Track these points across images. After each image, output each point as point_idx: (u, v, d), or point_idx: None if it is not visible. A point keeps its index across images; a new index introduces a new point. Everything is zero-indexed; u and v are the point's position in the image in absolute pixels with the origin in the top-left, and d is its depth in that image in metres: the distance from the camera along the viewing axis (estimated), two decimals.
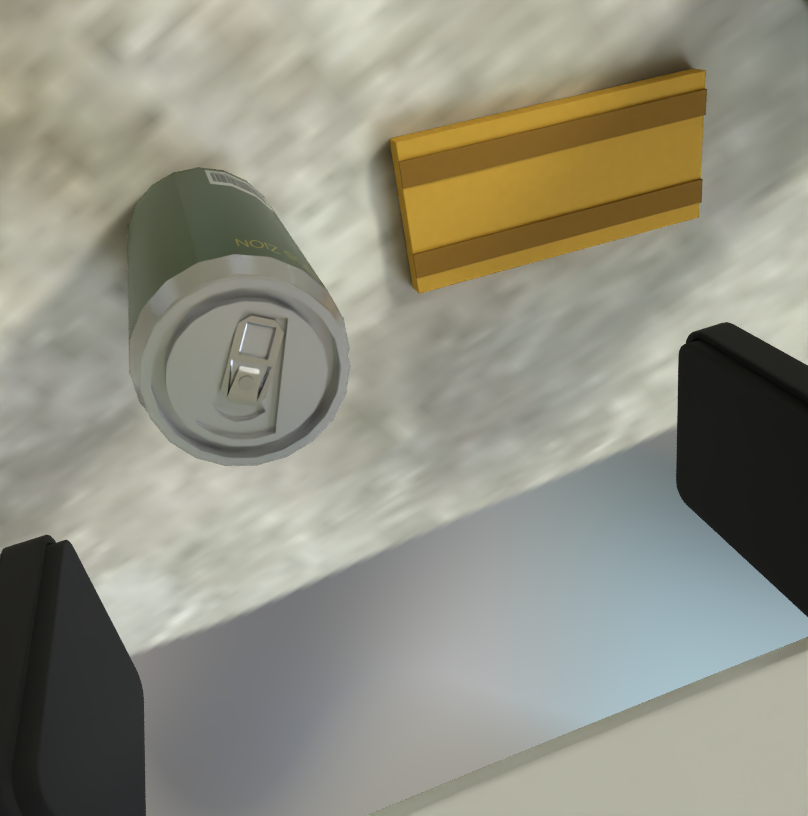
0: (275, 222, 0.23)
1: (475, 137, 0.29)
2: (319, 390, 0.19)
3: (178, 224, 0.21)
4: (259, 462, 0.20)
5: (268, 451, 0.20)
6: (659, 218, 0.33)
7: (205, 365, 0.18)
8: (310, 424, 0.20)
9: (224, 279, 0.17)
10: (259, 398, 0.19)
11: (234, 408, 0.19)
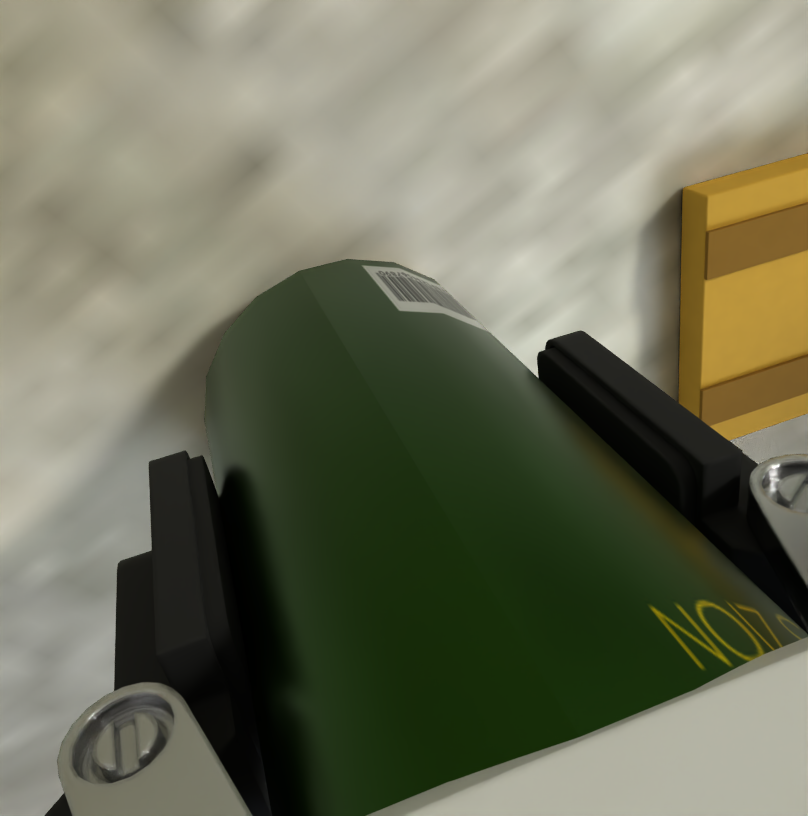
0: (582, 420, 0.10)
1: None
2: None
3: (395, 479, 0.08)
4: None
5: None
6: None
7: None
8: None
9: None
10: None
11: None
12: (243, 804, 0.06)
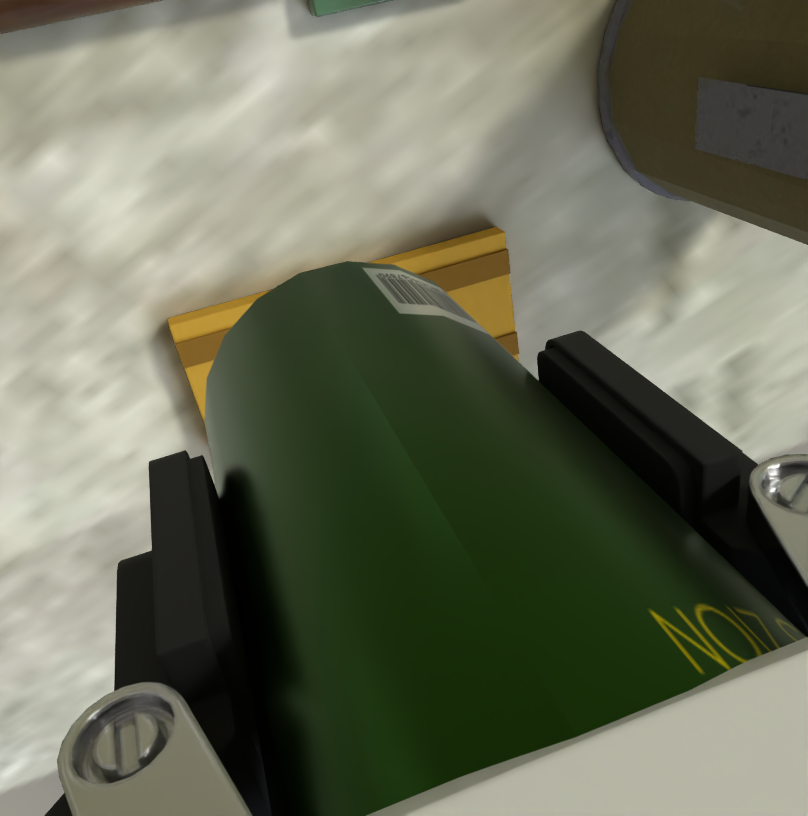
0: (582, 423, 0.10)
1: None
2: None
3: (395, 482, 0.08)
4: None
5: None
6: None
7: None
8: None
9: None
10: None
11: None
12: (243, 804, 0.06)
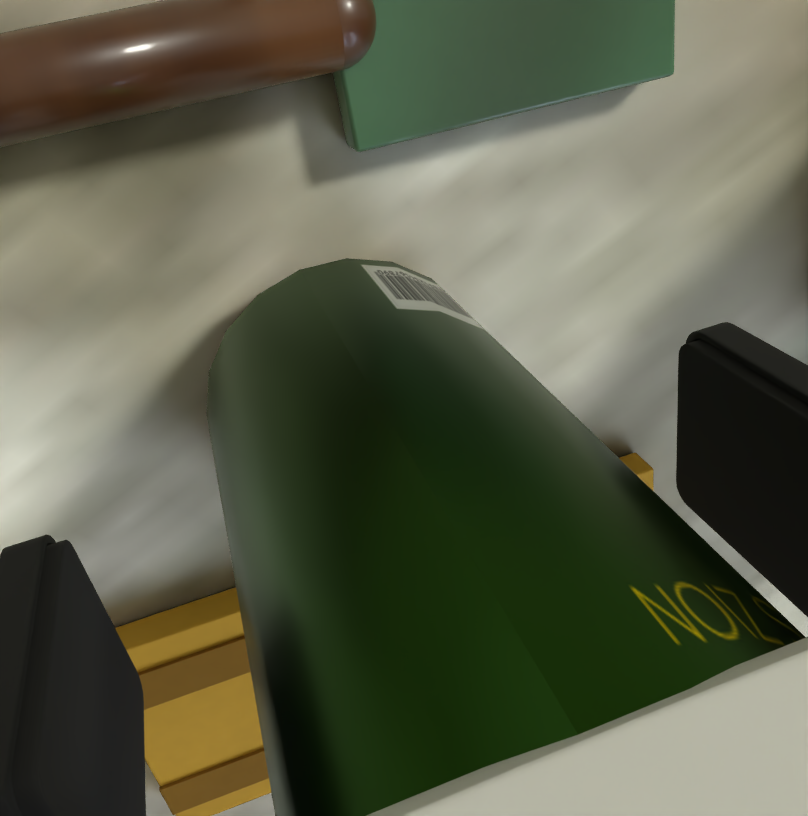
0: None
1: None
2: None
3: (390, 468, 0.08)
4: None
5: None
6: None
7: None
8: None
9: None
10: None
11: None
12: None
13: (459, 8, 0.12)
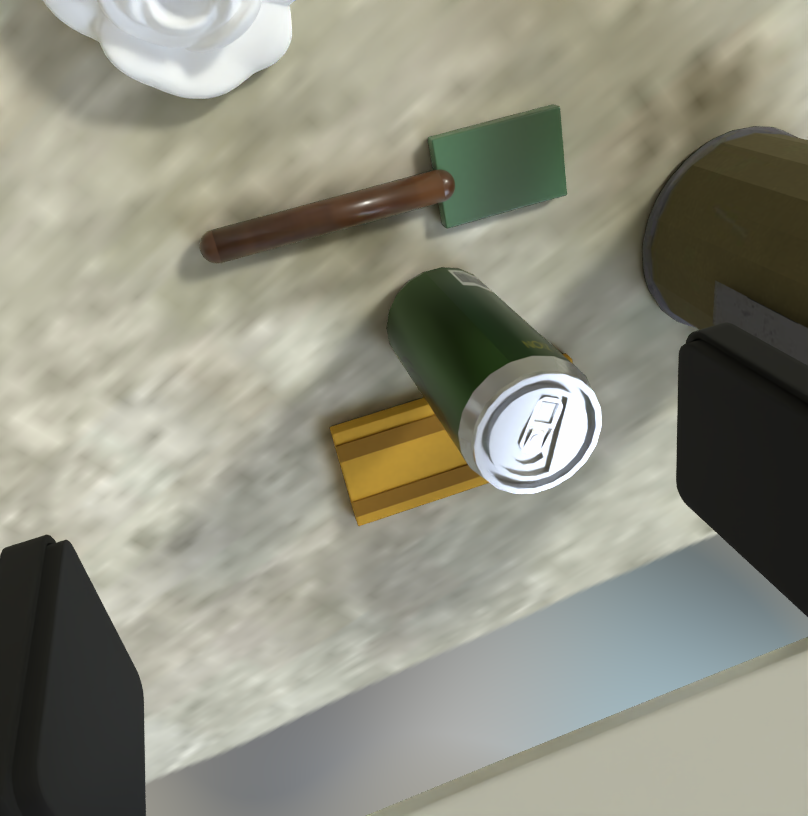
0: None
1: (393, 424, 0.39)
2: (580, 442, 0.28)
3: (466, 325, 0.30)
4: (535, 491, 0.29)
5: (541, 483, 0.29)
6: None
7: (514, 428, 0.27)
8: (568, 464, 0.29)
9: (533, 374, 0.26)
10: (541, 449, 0.28)
11: (523, 455, 0.28)
12: None
13: (483, 178, 0.34)
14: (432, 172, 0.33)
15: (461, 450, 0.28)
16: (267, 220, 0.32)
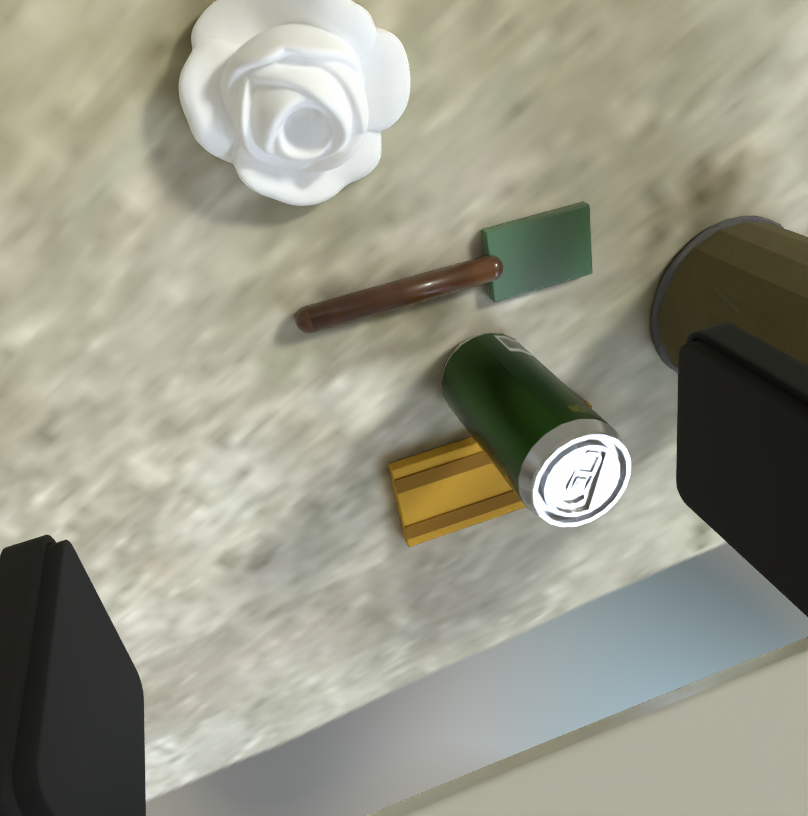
0: None
1: (442, 461, 0.46)
2: (613, 486, 0.35)
3: (519, 389, 0.37)
4: (577, 524, 0.36)
5: (581, 518, 0.36)
6: None
7: (564, 476, 0.34)
8: (603, 503, 0.36)
9: (580, 435, 0.34)
10: (583, 491, 0.35)
11: (569, 497, 0.35)
12: None
13: (526, 262, 0.42)
14: (485, 258, 0.41)
15: (520, 492, 0.35)
16: (352, 298, 0.39)
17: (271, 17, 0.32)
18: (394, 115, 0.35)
